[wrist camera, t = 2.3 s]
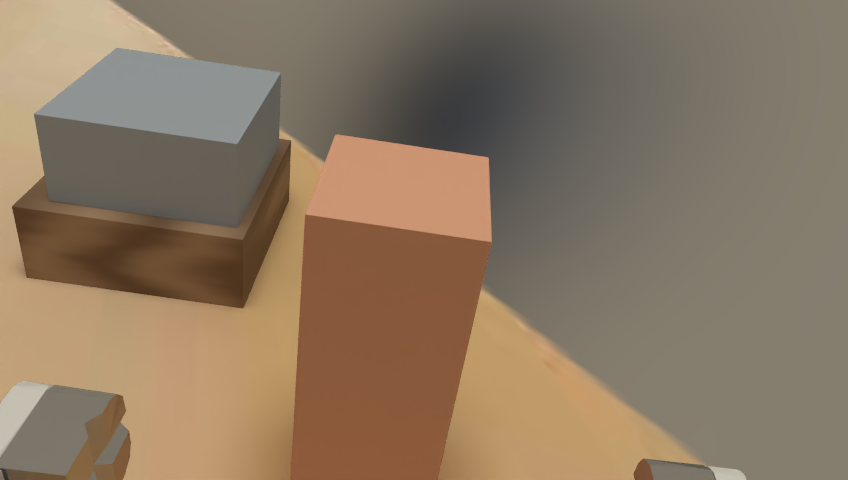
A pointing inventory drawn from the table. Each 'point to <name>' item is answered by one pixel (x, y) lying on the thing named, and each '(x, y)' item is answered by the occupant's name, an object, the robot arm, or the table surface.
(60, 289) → the table surface
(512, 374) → the table surface
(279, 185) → the tower base block
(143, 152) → the tower top block
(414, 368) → the terracotta block
